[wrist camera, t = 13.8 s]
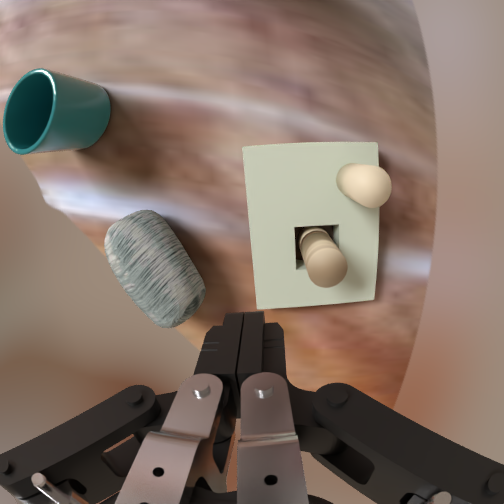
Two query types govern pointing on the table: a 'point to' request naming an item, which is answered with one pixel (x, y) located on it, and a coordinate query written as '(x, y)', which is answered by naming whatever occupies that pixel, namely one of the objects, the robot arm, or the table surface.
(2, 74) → the table surface
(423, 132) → the table surface
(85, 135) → the cup
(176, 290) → the spool
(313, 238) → the peg
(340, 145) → the seat board
